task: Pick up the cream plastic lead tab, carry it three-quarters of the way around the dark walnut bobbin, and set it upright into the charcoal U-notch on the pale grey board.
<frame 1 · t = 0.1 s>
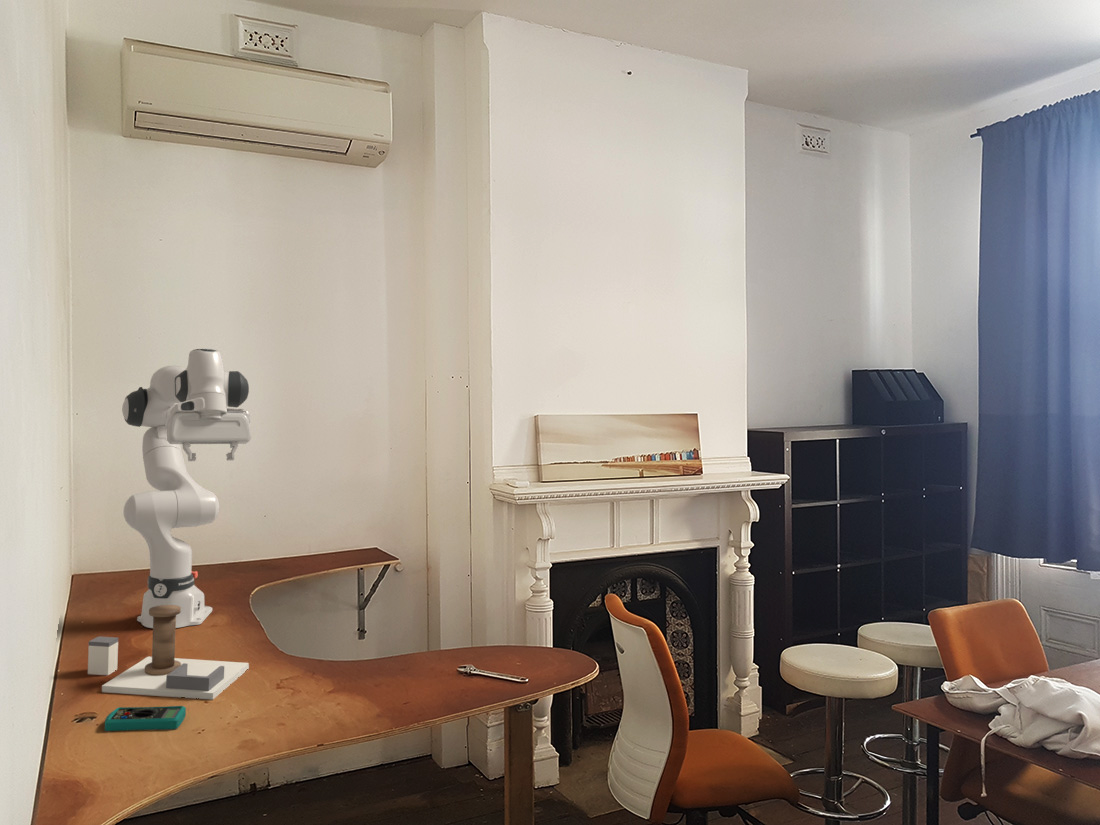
hand: (211, 460, 208), 52 cm above the table, tool tilted 20°, fingers open, 8 cm apart
bobbin: (162, 675, 199), resting on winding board
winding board: (178, 679, 197), on the table
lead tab: (102, 671, 200), on the table
digital multimeter: (146, 726, 173), on the table
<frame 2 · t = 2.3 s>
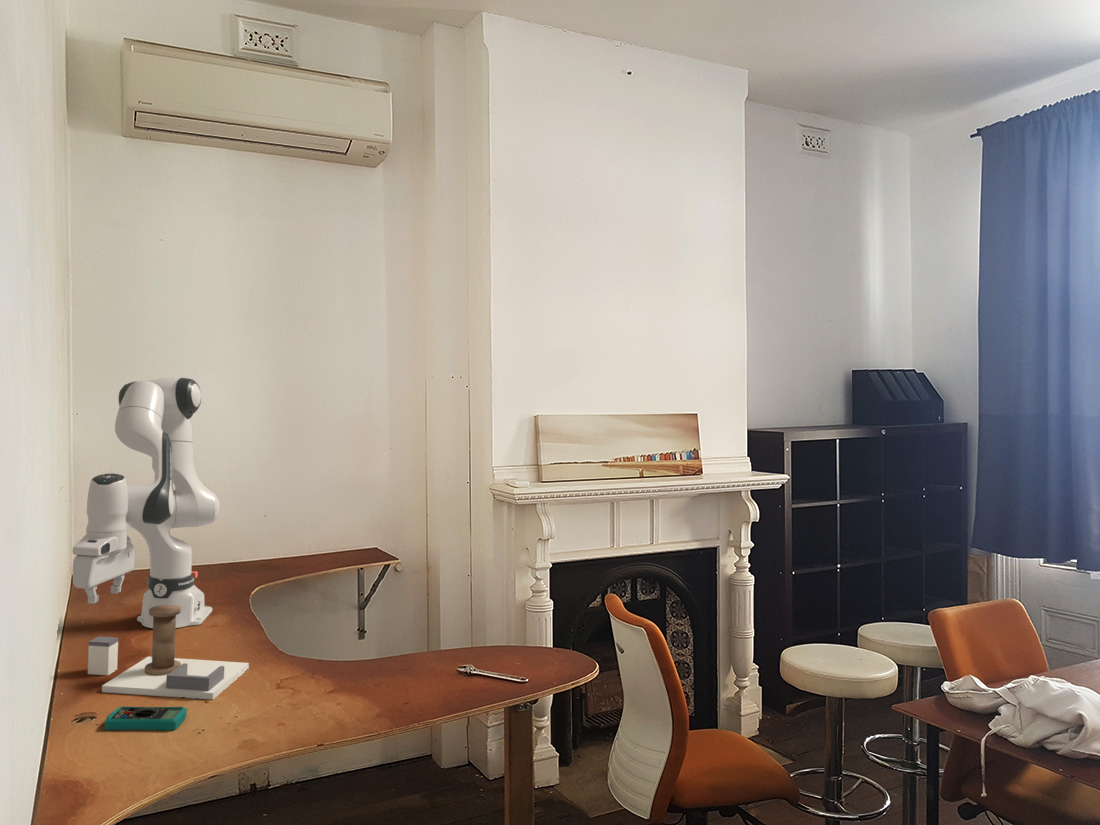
hand: (104, 597, 199), 18 cm above the table, tool pointing down, fingers open, 8 cm apart
nothing on the table moved.
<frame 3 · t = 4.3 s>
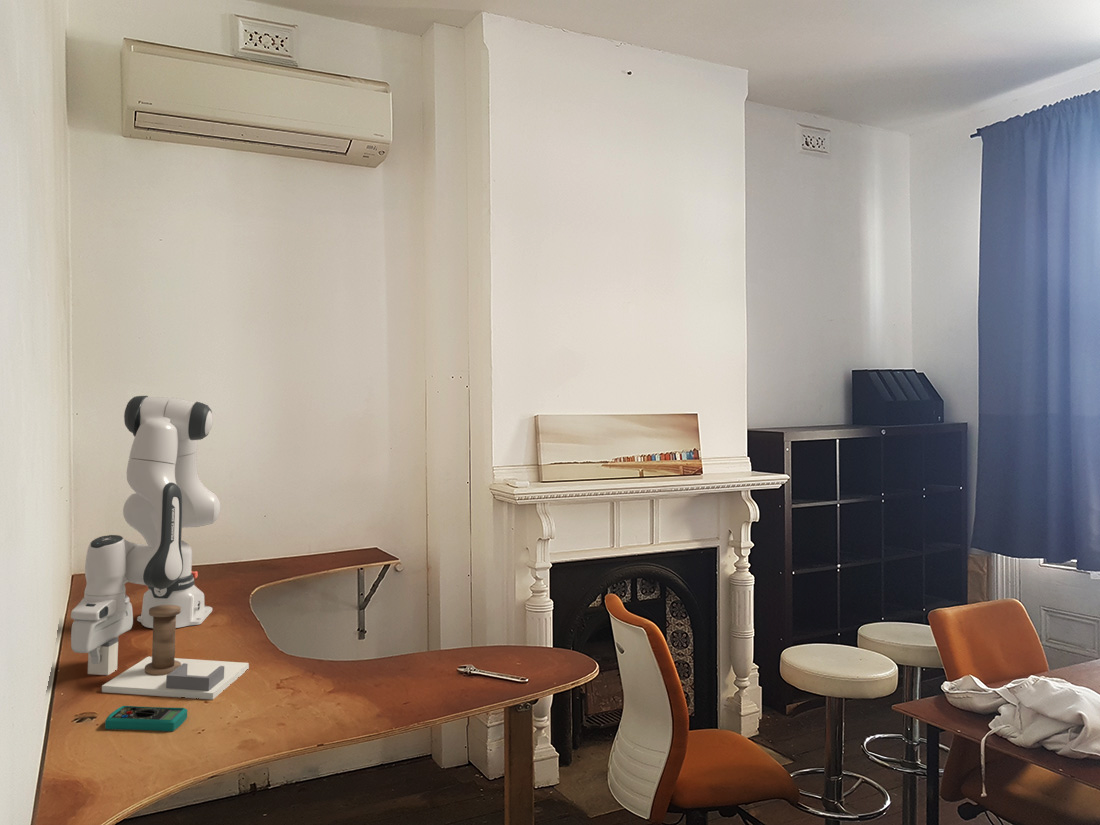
hand: (103, 659, 199), 3 cm above the table, tool pointing down, fingers closed on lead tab, 4 cm apart
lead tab: (102, 671, 200), on the table, touching gripper
everything else where it was.
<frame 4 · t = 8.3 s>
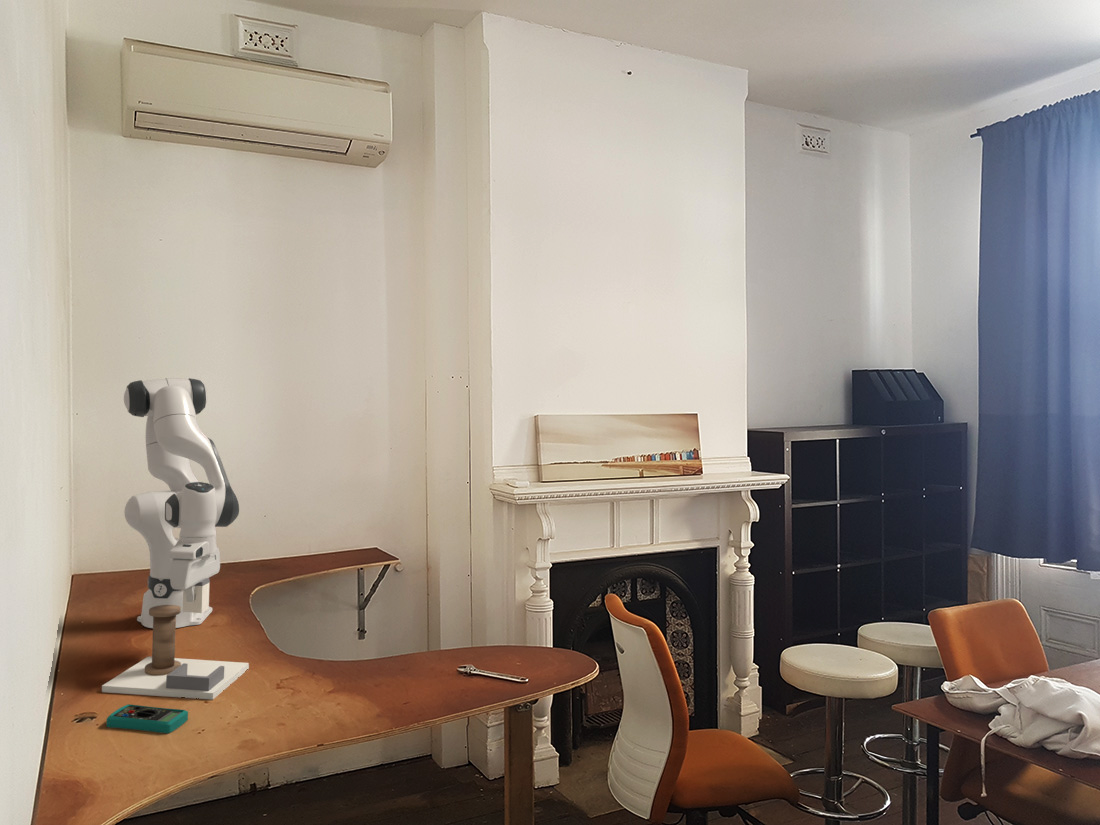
hand: (195, 598, 212), 15 cm above the table, tool pointing down, fingers closed on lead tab, 4 cm apart
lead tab: (195, 610, 212), point 12 cm above the table, touching gripper
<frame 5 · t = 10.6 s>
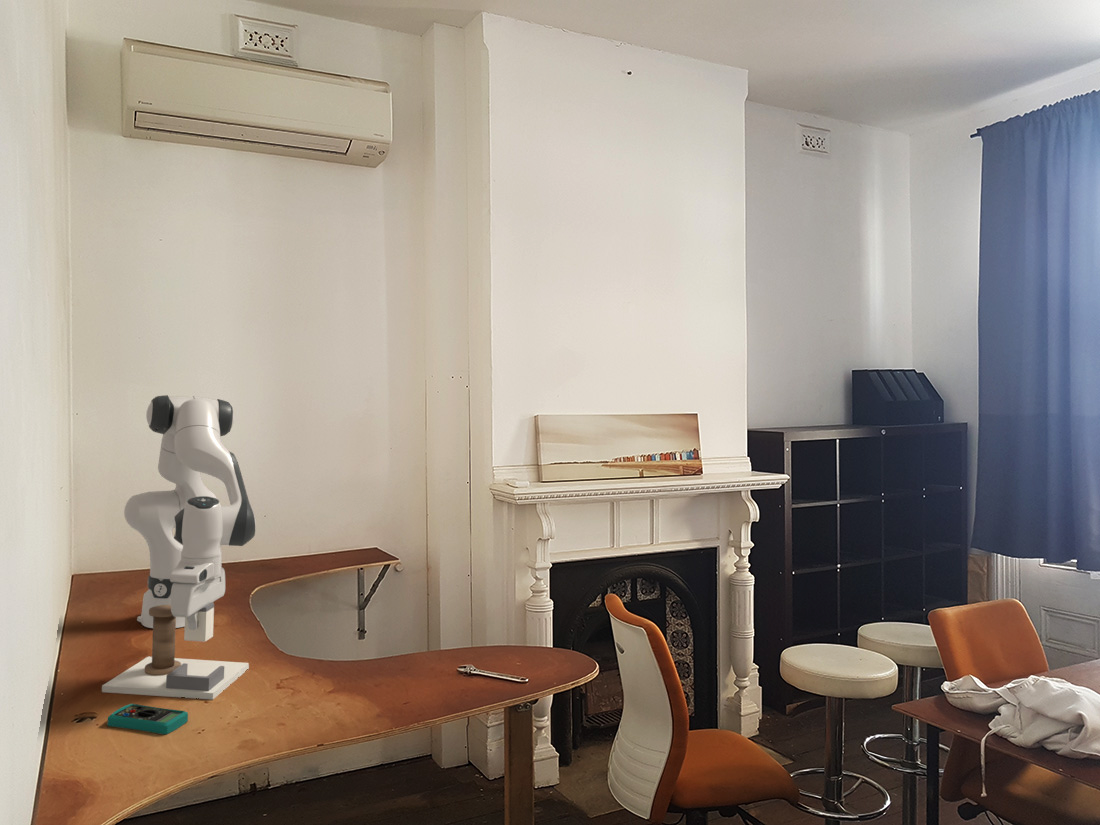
hand: (199, 625, 192), 15 cm above the table, tool pointing down, fingers closed on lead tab, 4 cm apart
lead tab: (198, 638, 192), point 12 cm above the table, touching gripper
when the fingers open (6 cm above the table, at t = 12.7 s): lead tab stays where it is, resting on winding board.
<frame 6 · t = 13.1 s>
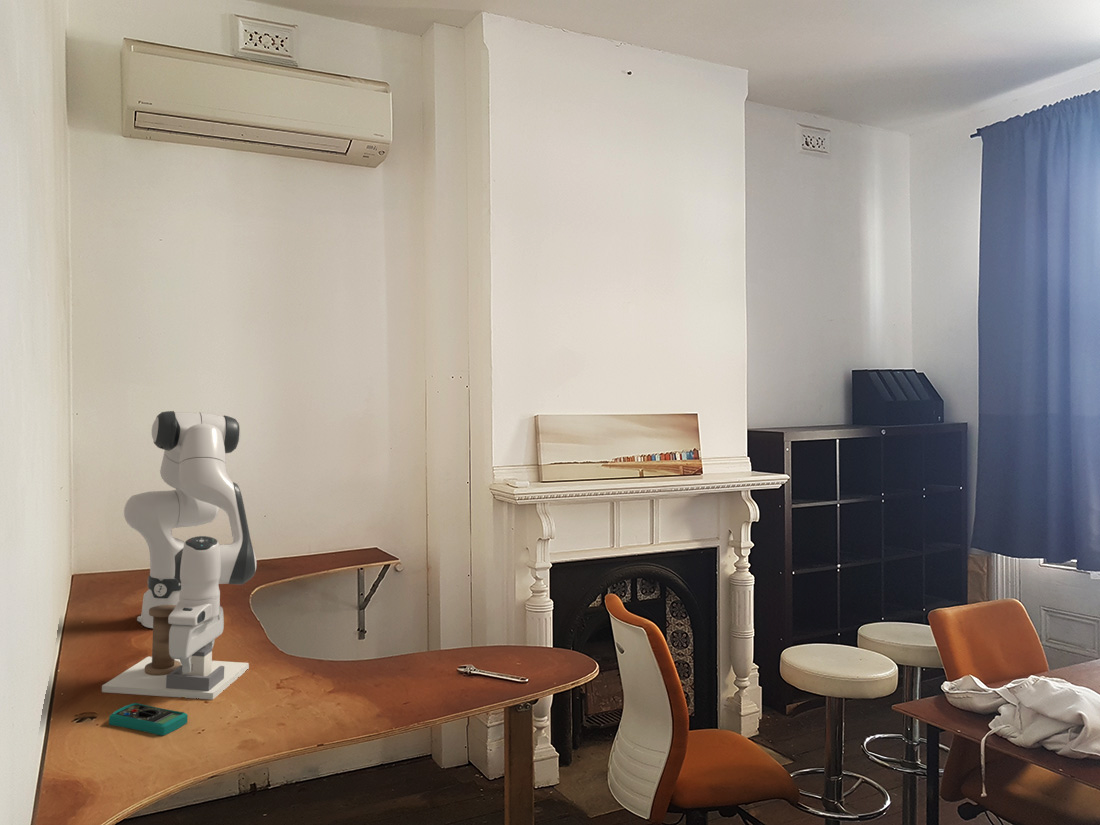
hand: (197, 665, 192), 6 cm above the table, tool pointing down, fingers open, 8 cm apart
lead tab: (196, 682, 192), point 1 cm above the table, touching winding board
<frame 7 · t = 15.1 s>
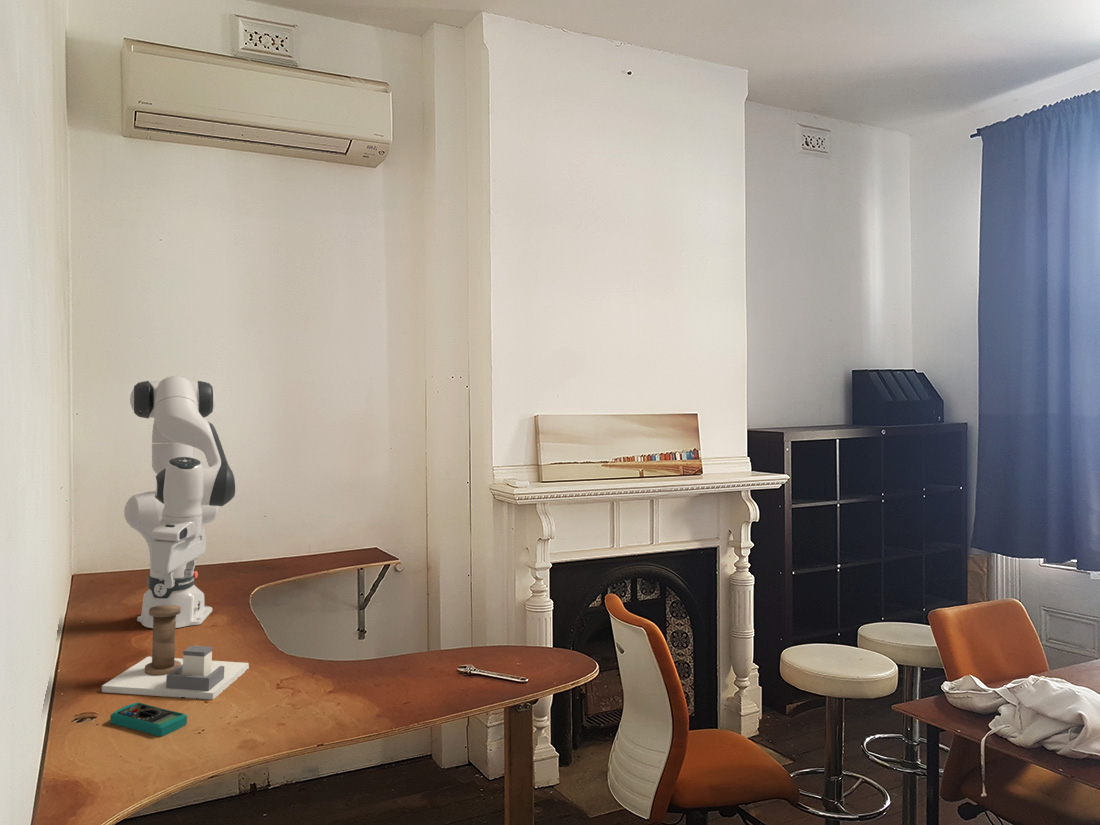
hand: (179, 581, 197), 24 cm above the table, tool pointing down, fingers open, 8 cm apart
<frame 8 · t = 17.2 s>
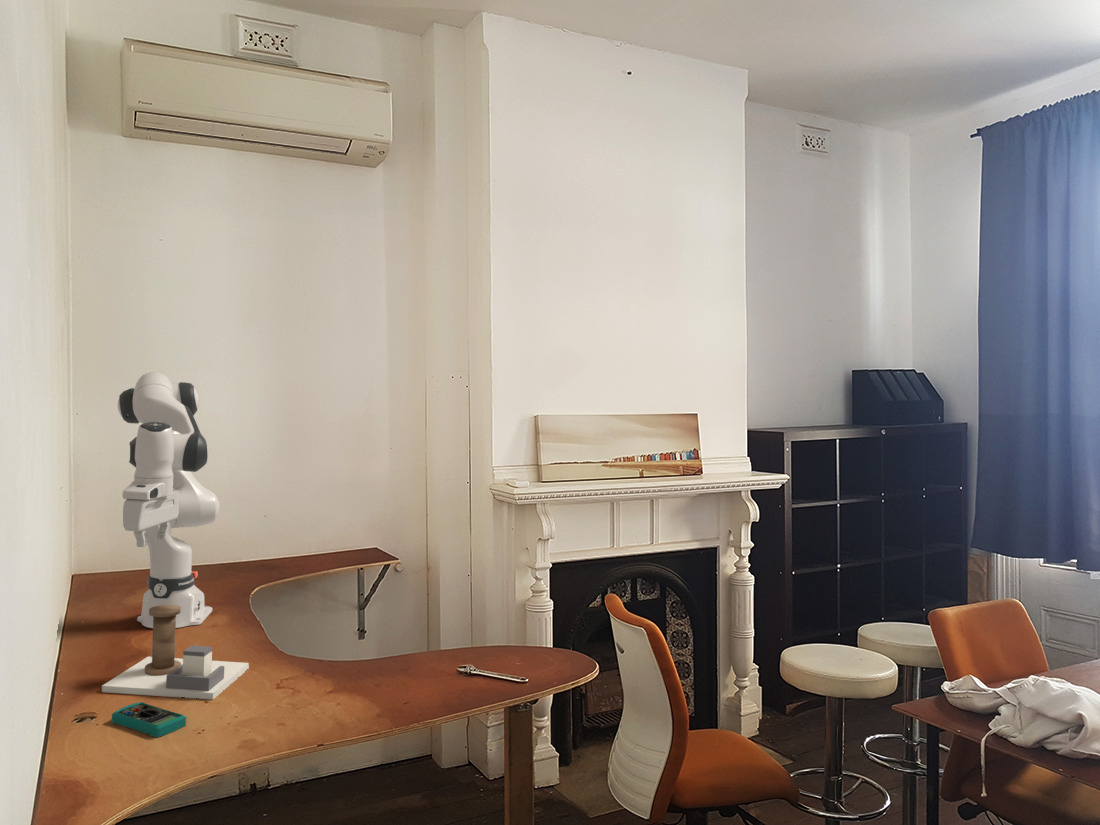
hand: (151, 542, 204), 31 cm above the table, tool pointing down, fingers open, 8 cm apart
at the end: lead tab 0.1 cm from the target spot, point 1.5 cm above the table; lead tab tilted 0°; the gripper is holding nothing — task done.
